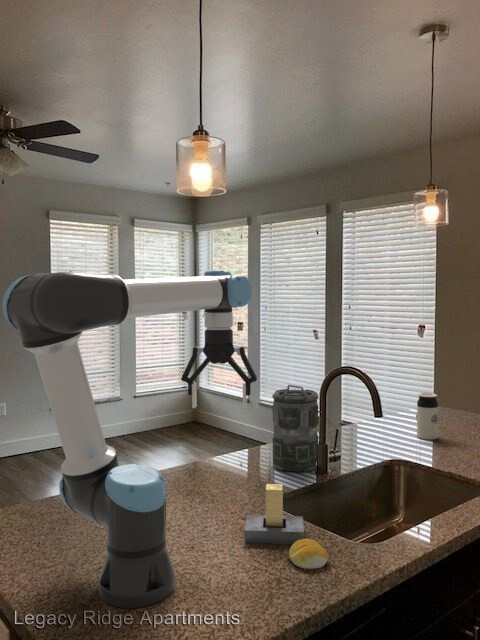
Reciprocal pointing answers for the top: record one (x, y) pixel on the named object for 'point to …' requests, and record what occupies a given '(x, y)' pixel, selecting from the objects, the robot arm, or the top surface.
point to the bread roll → (308, 554)
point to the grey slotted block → (273, 530)
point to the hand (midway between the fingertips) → (219, 407)
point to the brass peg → (274, 505)
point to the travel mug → (427, 416)
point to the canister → (295, 429)
